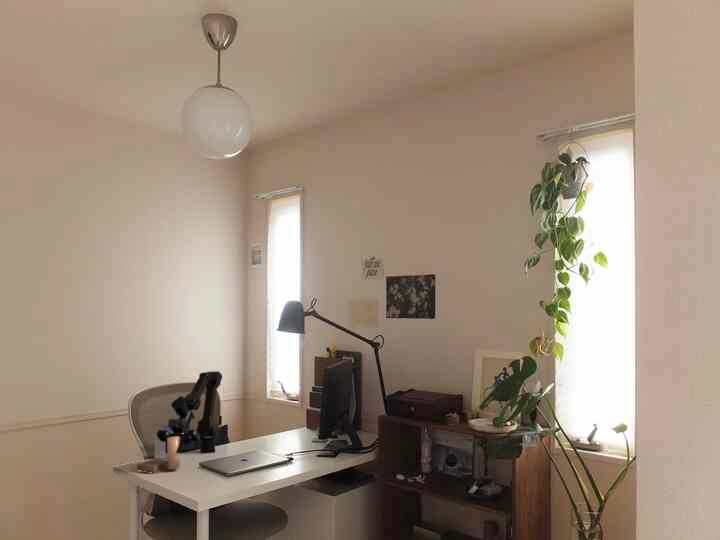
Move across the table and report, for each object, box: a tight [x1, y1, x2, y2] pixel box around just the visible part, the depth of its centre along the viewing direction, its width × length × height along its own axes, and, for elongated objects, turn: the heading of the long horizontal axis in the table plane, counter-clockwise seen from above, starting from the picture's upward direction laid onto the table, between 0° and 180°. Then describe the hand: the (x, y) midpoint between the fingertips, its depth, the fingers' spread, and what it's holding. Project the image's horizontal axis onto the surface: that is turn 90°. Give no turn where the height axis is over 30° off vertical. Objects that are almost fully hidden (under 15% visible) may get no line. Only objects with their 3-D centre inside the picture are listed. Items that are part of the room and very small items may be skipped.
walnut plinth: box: [136, 458, 169, 474], centre depth 244 cm, size 10×10×3 cm
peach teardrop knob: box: [166, 436, 181, 470], centre depth 242 cm, size 5×5×13 cm
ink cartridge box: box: [154, 425, 173, 459], centre depth 266 cm, size 10×6×14 cm, turn 79°
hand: (171, 452), depth 241 cm, fingers closed on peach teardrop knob, 5 cm apart
